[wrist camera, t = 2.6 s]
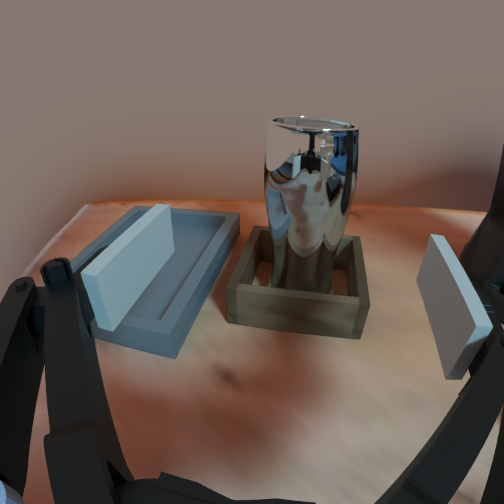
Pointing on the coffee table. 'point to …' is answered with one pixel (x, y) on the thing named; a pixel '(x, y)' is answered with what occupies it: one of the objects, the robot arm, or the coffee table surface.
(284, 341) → the coffee table surface
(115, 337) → the slate tray
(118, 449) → the robot arm
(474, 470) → the coffee table surface
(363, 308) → the walnut holder
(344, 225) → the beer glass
